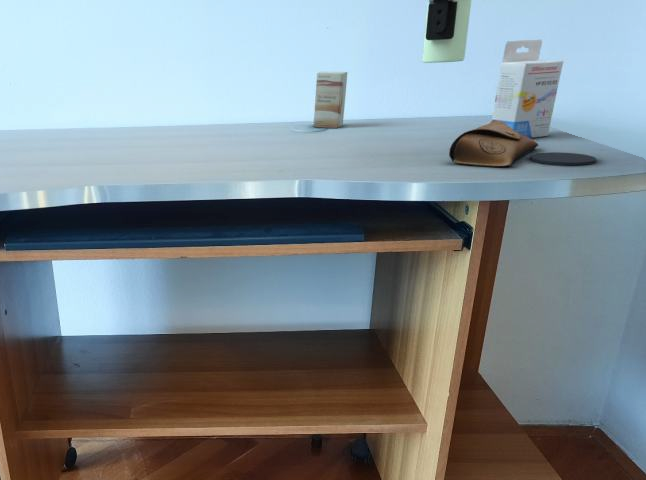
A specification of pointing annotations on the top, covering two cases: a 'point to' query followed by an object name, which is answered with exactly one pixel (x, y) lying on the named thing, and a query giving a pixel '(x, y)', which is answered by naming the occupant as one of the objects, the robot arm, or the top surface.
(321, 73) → the cream medicine box
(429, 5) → the robot arm
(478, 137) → the sunglasses case
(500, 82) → the ink box
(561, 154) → the coaster
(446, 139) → the top surface
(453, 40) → the candle
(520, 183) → the top surface
